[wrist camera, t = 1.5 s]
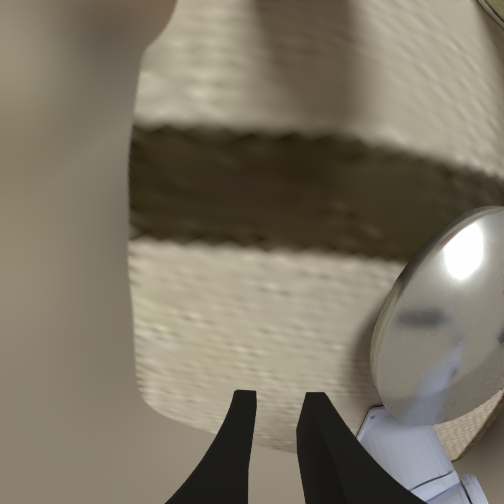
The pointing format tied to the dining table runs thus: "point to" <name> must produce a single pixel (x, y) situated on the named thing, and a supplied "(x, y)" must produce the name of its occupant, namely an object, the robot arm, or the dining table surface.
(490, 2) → the coffee can
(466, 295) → the lid
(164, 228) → the dining table surface
